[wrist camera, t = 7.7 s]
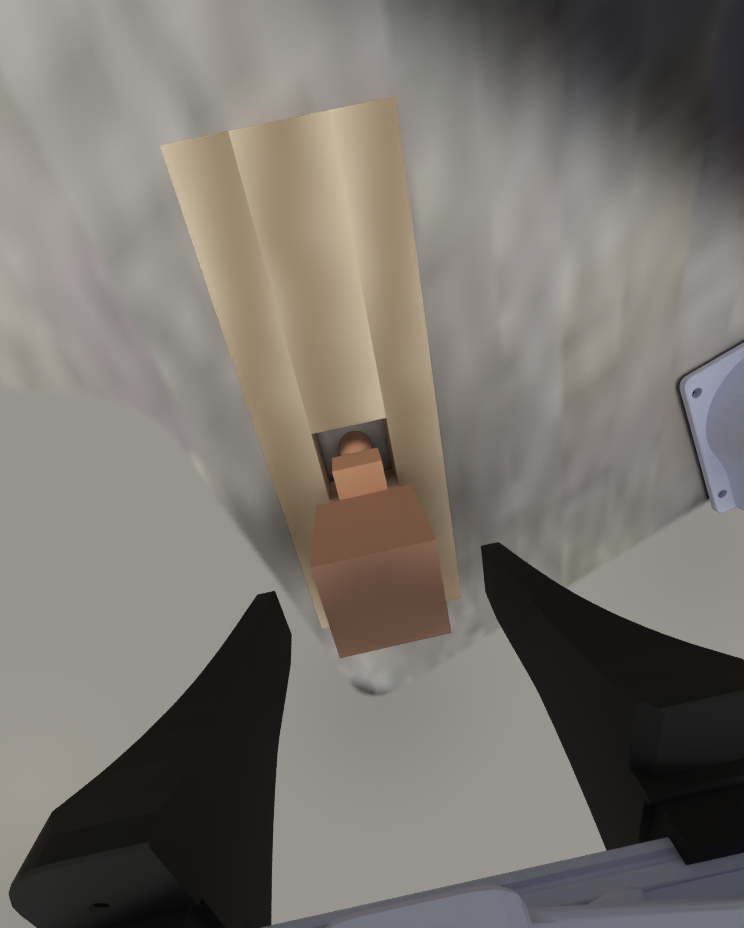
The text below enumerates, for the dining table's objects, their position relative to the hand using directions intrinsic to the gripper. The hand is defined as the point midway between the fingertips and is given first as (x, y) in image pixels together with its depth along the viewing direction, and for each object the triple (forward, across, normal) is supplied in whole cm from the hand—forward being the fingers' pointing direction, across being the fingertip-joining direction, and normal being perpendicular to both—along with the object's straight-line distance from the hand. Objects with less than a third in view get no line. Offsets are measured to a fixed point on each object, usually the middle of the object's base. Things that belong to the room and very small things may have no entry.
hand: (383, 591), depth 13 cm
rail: (+8, 0, -4) cm, 9 cm away
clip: (+8, 0, 0) cm, 8 cm away
